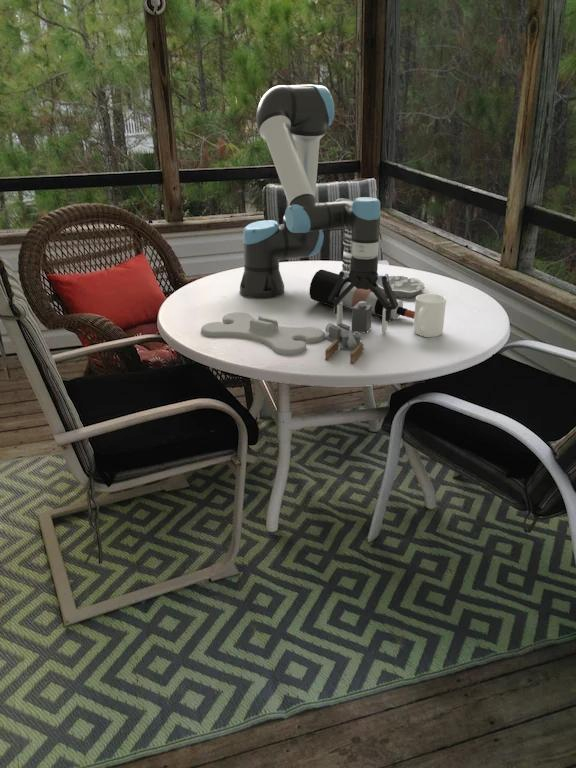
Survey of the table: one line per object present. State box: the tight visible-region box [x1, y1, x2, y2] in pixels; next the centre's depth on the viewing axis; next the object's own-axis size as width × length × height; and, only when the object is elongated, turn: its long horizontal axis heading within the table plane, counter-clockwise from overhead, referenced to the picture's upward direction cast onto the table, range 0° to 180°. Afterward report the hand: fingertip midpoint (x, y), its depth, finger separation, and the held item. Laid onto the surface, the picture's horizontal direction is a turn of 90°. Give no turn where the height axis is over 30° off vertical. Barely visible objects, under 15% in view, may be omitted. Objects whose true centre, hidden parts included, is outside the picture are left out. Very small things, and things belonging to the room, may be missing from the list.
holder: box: [200, 311, 326, 356], centre depth 187 cm, size 19×34×5 cm, turn 57°
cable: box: [309, 269, 415, 321], centre depth 203 cm, size 10×34×10 cm, turn 55°
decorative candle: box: [341, 228, 353, 277], centre depth 237 cm, size 9×9×25 cm
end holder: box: [324, 339, 364, 365], centre depth 172 cm, size 8×8×3 cm
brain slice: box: [376, 275, 426, 300], centre depth 224 cm, size 20×17×3 cm
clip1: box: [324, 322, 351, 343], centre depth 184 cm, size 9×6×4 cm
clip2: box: [338, 331, 364, 351], centre depth 178 cm, size 5×6×4 cm
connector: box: [351, 301, 373, 334], centre depth 189 cm, size 4×4×8 cm
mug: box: [413, 293, 447, 338], centre depth 185 cm, size 12×8×10 cm
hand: (361, 328), depth 191 cm, fingers open, 13 cm apart
